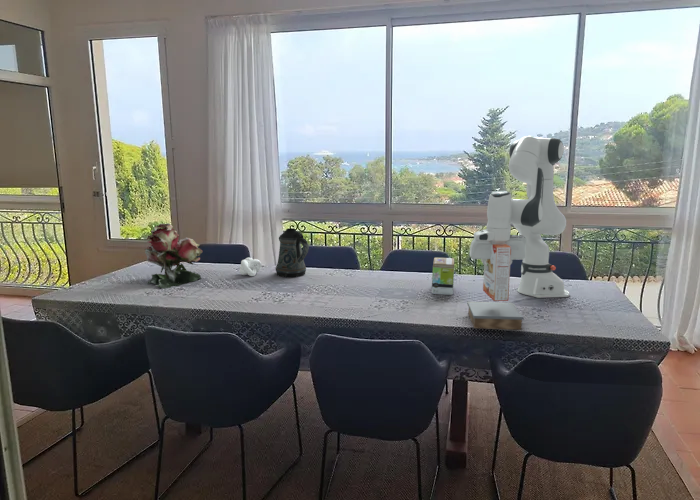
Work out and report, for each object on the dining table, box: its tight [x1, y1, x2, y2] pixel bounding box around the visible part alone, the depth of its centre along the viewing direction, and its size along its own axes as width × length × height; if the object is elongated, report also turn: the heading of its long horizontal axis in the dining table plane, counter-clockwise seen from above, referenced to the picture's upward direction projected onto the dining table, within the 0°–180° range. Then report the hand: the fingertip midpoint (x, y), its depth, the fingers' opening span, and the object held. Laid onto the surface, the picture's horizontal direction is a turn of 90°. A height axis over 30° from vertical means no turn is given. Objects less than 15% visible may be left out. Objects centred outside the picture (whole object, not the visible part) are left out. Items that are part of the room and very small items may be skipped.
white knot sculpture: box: [239, 257, 262, 277], centre depth 267 cm, size 11×12×9 cm
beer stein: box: [275, 227, 310, 279], centre depth 266 cm, size 16×19×25 cm
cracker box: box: [482, 244, 511, 302], centre depth 188 cm, size 14×6×21 cm, turn 1°
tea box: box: [431, 257, 455, 296], centre depth 234 cm, size 15×10×15 cm
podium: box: [467, 301, 525, 330], centre depth 191 cm, size 18×18×5 cm
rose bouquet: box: [144, 222, 203, 289], centre depth 255 cm, size 26×29×30 cm
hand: (496, 270), depth 188 cm, fingers closed on cracker box, 6 cm apart
